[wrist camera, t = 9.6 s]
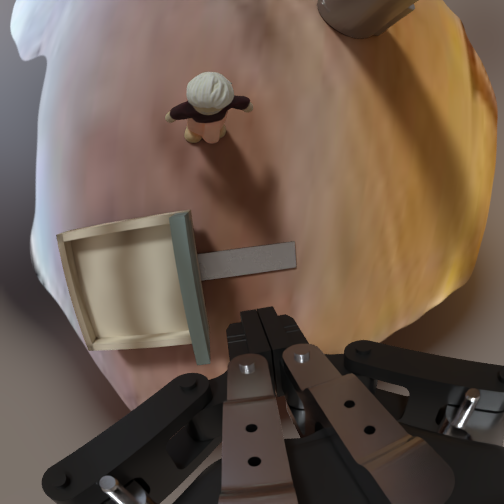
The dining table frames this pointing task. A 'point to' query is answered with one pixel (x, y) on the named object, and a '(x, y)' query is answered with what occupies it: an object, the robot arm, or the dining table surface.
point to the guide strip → (246, 260)
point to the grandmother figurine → (208, 107)
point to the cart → (137, 284)
